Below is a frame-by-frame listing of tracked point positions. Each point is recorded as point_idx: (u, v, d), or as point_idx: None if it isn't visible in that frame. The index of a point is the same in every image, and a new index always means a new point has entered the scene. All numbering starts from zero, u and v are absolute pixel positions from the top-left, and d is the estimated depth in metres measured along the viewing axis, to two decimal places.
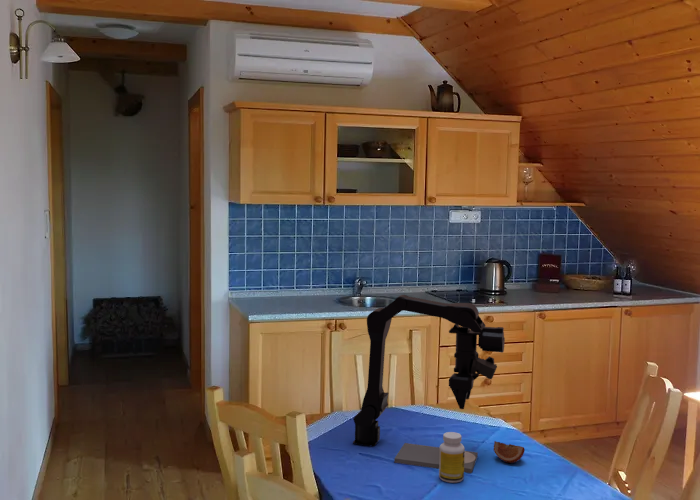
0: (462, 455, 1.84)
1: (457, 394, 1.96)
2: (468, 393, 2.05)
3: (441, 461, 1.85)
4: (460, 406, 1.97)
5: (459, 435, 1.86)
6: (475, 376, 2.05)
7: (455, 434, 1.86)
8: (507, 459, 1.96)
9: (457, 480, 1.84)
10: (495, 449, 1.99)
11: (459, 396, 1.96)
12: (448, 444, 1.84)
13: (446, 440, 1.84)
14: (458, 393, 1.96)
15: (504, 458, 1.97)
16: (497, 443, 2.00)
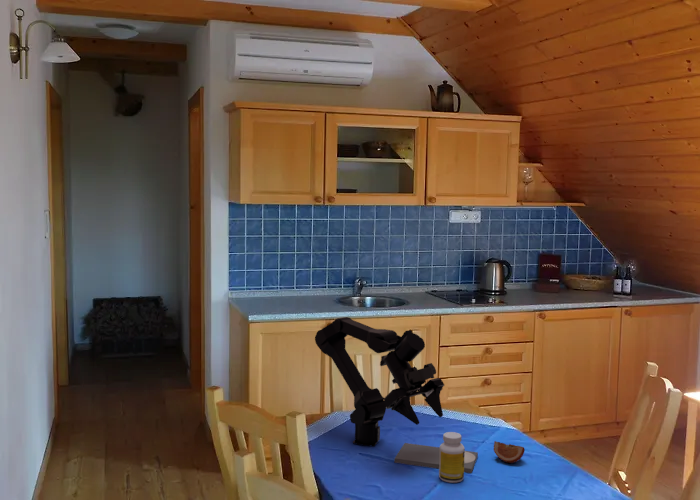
0: (462, 455, 1.84)
1: (404, 412, 1.90)
2: (438, 410, 1.95)
3: (441, 461, 1.85)
4: (414, 422, 1.89)
5: (459, 435, 1.86)
6: (434, 390, 1.97)
7: (455, 434, 1.87)
8: (507, 459, 1.96)
9: (457, 480, 1.84)
10: (495, 449, 1.99)
11: (406, 413, 1.90)
12: (448, 444, 1.84)
13: (446, 440, 1.84)
14: (404, 411, 1.90)
15: (504, 458, 1.97)
16: (497, 443, 2.00)
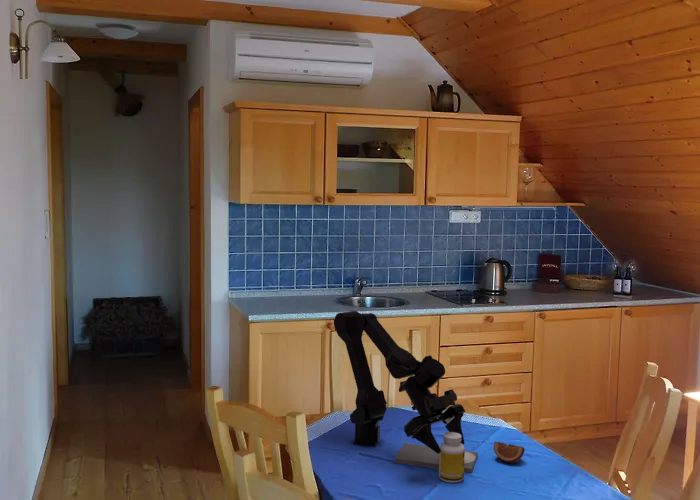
0: (462, 455, 1.84)
1: (425, 441, 1.85)
2: None
3: (441, 461, 1.85)
4: (436, 451, 1.84)
5: (459, 435, 1.86)
6: (455, 417, 1.92)
7: (455, 434, 1.86)
8: (507, 459, 1.96)
9: (457, 480, 1.84)
10: (495, 449, 1.99)
11: (427, 441, 1.85)
12: (448, 444, 1.84)
13: (446, 440, 1.84)
14: (425, 439, 1.85)
15: (504, 458, 1.97)
16: (497, 443, 2.00)
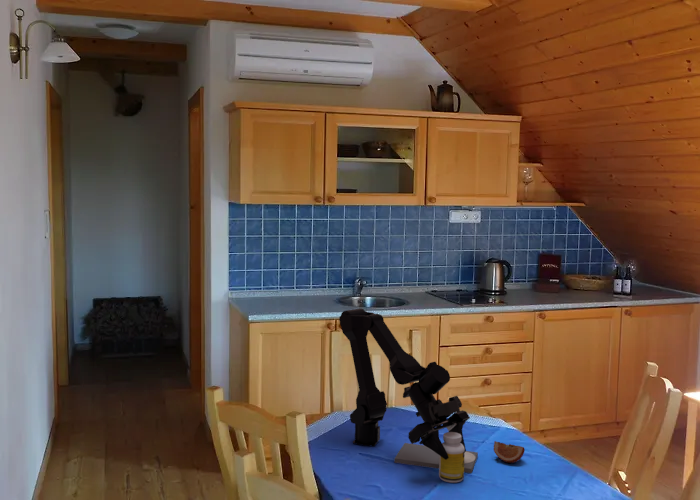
0: (462, 455, 1.84)
1: (432, 446, 1.85)
2: None
3: (441, 461, 1.85)
4: (443, 456, 1.83)
5: (459, 435, 1.86)
6: (457, 425, 1.90)
7: (455, 434, 1.86)
8: (507, 459, 1.96)
9: (457, 480, 1.84)
10: (495, 449, 1.99)
11: (435, 447, 1.84)
12: (448, 444, 1.84)
13: (446, 440, 1.84)
14: (432, 445, 1.85)
15: (504, 458, 1.97)
16: (497, 443, 2.00)
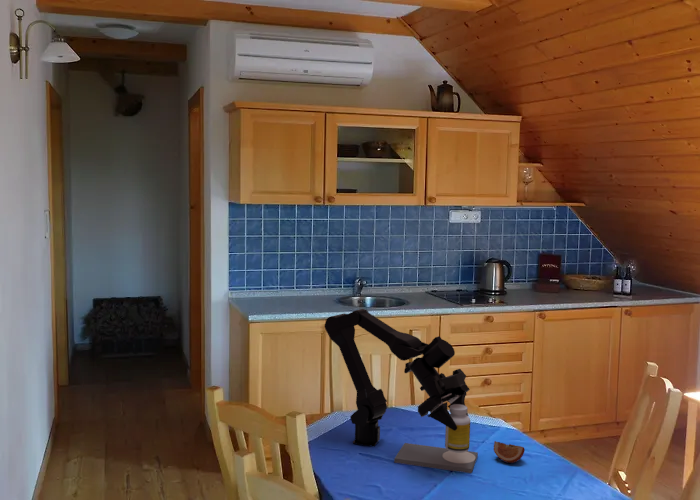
0: (469, 425, 1.90)
1: (441, 419, 1.89)
2: None
3: (449, 433, 1.90)
4: (452, 428, 1.89)
5: (465, 406, 1.91)
6: (460, 397, 1.95)
7: (461, 406, 1.92)
8: (507, 459, 1.96)
9: (465, 450, 1.90)
10: (495, 449, 1.99)
11: (443, 419, 1.89)
12: (455, 416, 1.90)
13: (454, 412, 1.90)
14: (441, 417, 1.89)
15: (504, 458, 1.97)
16: (497, 443, 2.00)
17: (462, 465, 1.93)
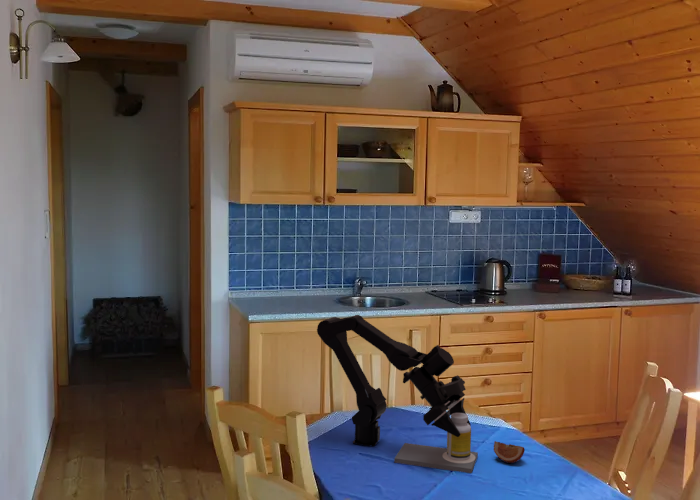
0: (470, 433, 1.97)
1: (444, 426, 1.94)
2: None
3: (452, 441, 1.96)
4: (456, 434, 1.93)
5: (465, 414, 1.98)
6: (459, 402, 2.02)
7: (461, 414, 1.98)
8: (507, 459, 1.96)
9: (467, 457, 1.96)
10: (495, 449, 1.99)
11: (447, 427, 1.93)
12: (458, 424, 1.95)
13: (456, 420, 1.95)
14: (444, 425, 1.94)
15: (504, 458, 1.97)
16: (497, 443, 2.00)
17: (462, 465, 1.93)
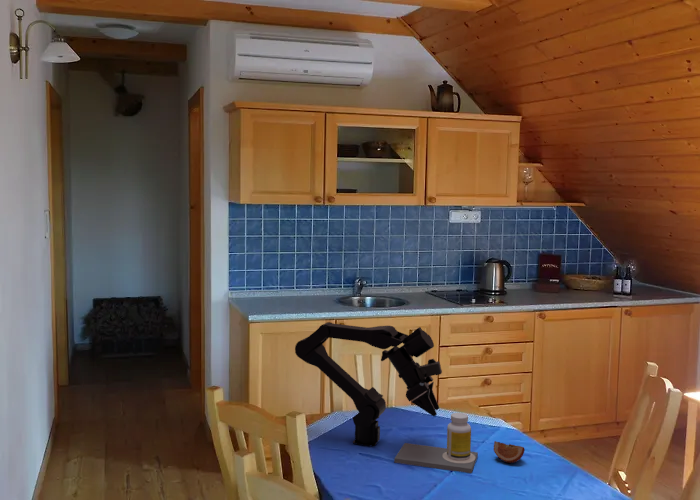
0: (470, 433, 1.97)
1: (422, 405, 1.98)
2: (435, 403, 2.08)
3: (452, 441, 1.96)
4: (432, 413, 1.98)
5: (465, 414, 1.98)
6: (430, 385, 2.09)
7: (461, 414, 1.98)
8: (507, 459, 1.96)
9: (467, 457, 1.96)
10: (495, 449, 1.99)
11: (425, 405, 1.98)
12: (458, 424, 1.95)
13: (456, 420, 1.95)
14: (422, 403, 1.98)
15: (504, 458, 1.97)
16: (497, 443, 2.00)
17: (462, 465, 1.93)
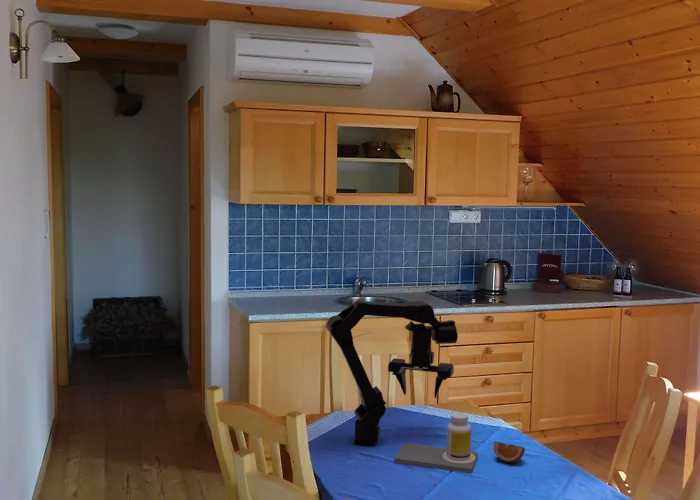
0: (470, 433, 1.97)
1: None
2: None
3: (452, 441, 1.96)
4: (436, 395, 2.12)
5: (465, 414, 1.98)
6: (405, 370, 2.17)
7: (461, 414, 1.98)
8: (507, 459, 1.96)
9: (467, 457, 1.96)
10: (495, 449, 1.99)
11: None
12: (458, 424, 1.95)
13: (456, 420, 1.95)
14: None
15: (504, 458, 1.97)
16: (497, 443, 2.00)
17: (462, 465, 1.93)
